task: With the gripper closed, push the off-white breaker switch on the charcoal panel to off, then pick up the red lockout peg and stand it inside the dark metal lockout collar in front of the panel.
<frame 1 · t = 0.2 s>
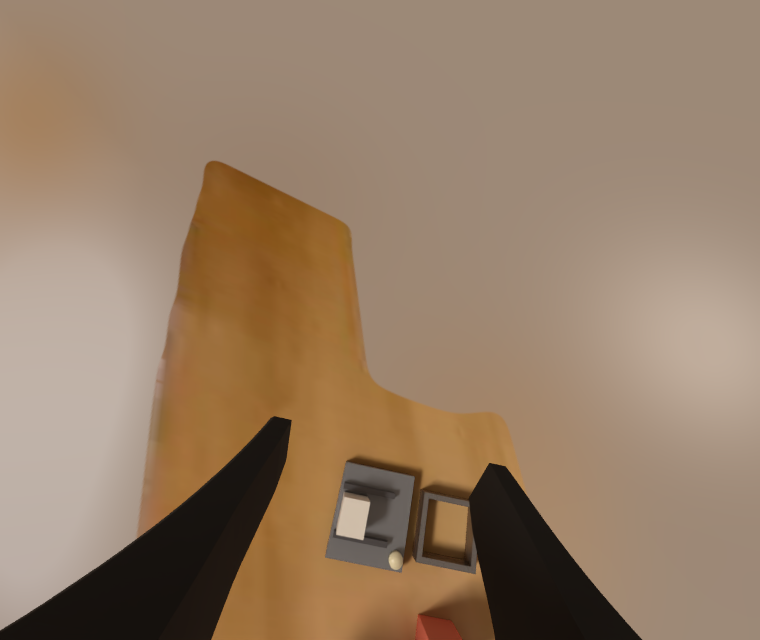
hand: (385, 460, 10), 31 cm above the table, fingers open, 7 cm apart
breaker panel: (371, 511, 37), on the table
breaker switch: (353, 514, 34), point 3 cm above the table, slide at 0.0 cm
lockout collar: (443, 526, 37), on the table
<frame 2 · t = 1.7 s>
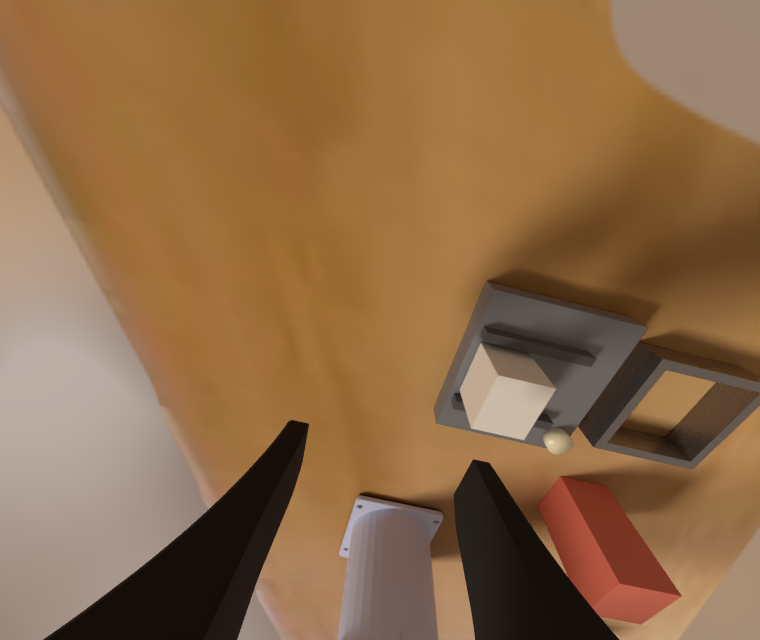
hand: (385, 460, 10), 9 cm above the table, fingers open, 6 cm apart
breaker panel: (521, 366, 19), on the table
breaker switch: (501, 389, 16), point 3 cm above the table, slide at 0.0 cm
lockout peg: (571, 496, 25), on the table
lockout collar: (653, 397, 20), on the table
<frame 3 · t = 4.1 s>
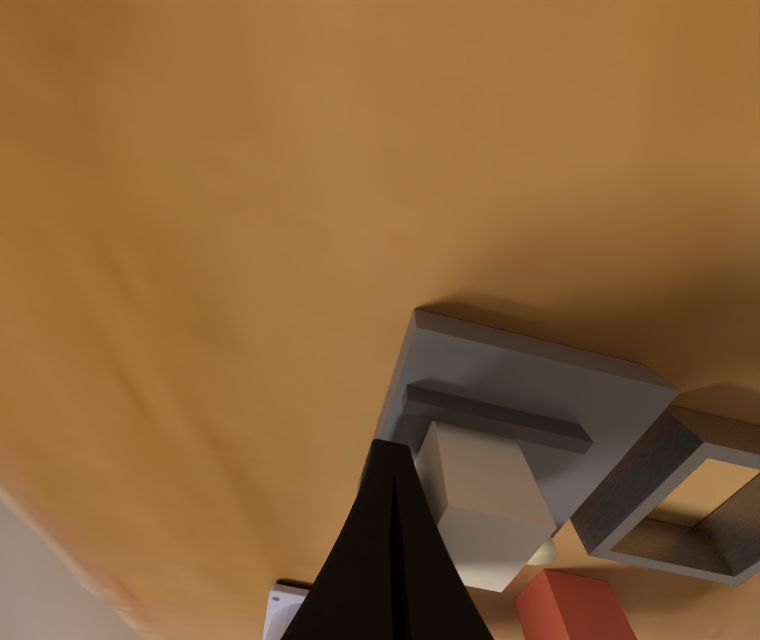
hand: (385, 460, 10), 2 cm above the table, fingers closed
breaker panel: (480, 433, 13), on the table
breaker switch: (465, 498, 10), point 3 cm above the table, slide at 1.1 cm, touching gripper
lockout peg: (558, 591, 18), on the table
lockout collar: (678, 478, 13), on the table
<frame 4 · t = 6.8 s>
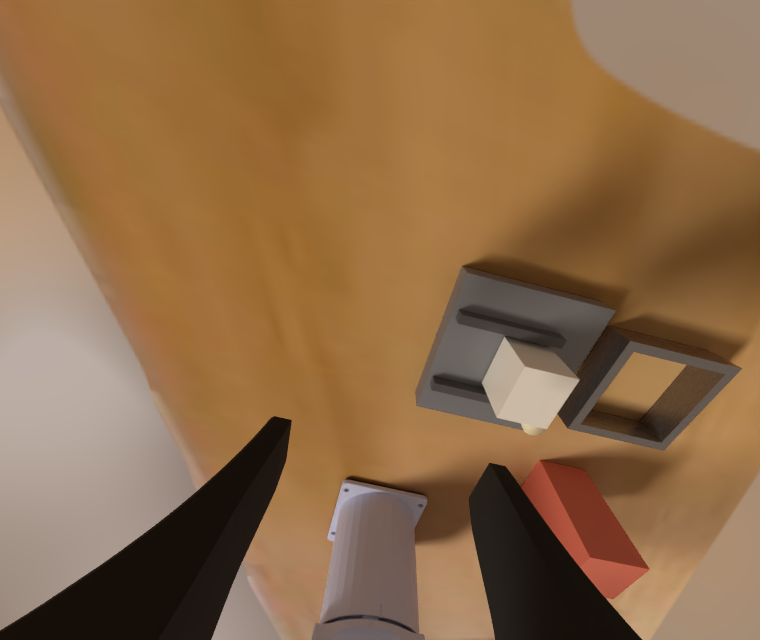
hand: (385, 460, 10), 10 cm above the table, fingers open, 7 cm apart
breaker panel: (498, 350, 20), on the table
breaker switch: (524, 381, 17), point 3 cm above the table, slide at 3.1 cm
lockout peg: (550, 480, 25), on the table
lockout collar: (626, 381, 20), on the table
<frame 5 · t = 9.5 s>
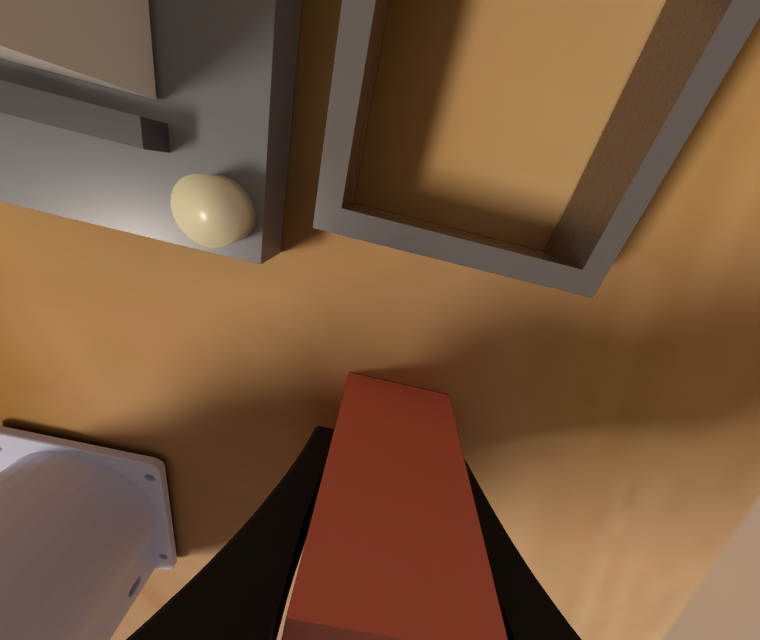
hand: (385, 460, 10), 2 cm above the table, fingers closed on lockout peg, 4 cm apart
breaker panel: (112, 4, 7), on the table
lockout peg: (387, 421, 12), on the table, touching gripper
lockout collar: (489, 109, 7), on the table
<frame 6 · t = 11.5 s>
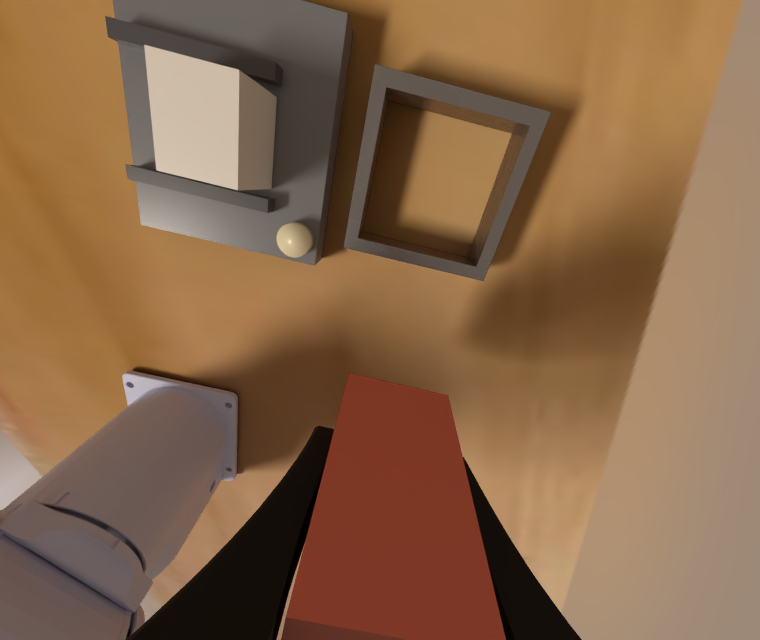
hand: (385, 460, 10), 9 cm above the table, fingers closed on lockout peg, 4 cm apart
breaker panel: (245, 139, 14), on the table
breaker switch: (220, 131, 11), point 3 cm above the table, slide at 3.1 cm
lockout peg: (386, 421, 12), point 7 cm above the table, touching gripper
lockout collar: (431, 186, 15), on the table
when the fingers open (3 cm above the table, at t = 13.7 s): lockout peg drops 1 cm, resting in lockout collar.
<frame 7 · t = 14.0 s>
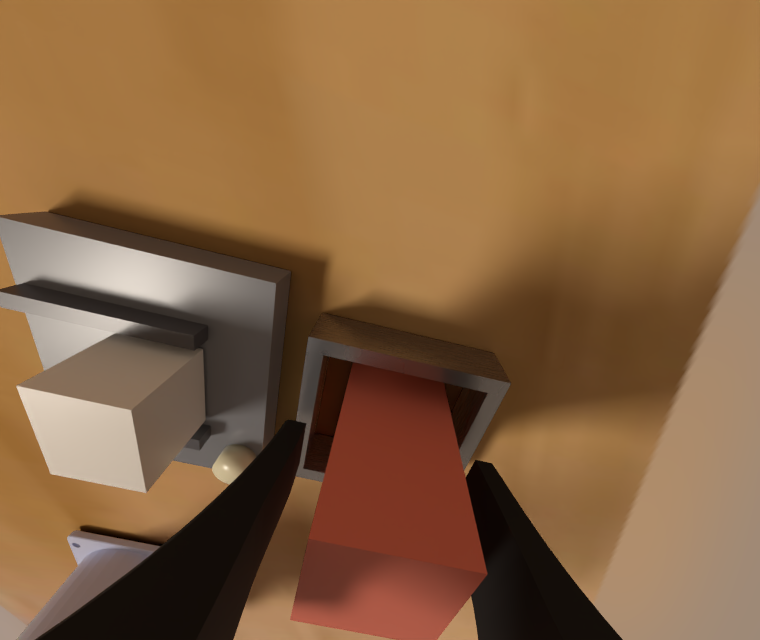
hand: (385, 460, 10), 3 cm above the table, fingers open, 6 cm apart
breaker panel: (179, 353, 13), on the table
breaker switch: (132, 406, 10), point 3 cm above the table, slide at 3.1 cm
lockout peg: (387, 403, 13), resting in lockout collar
lockout collar: (388, 400, 13), on the table
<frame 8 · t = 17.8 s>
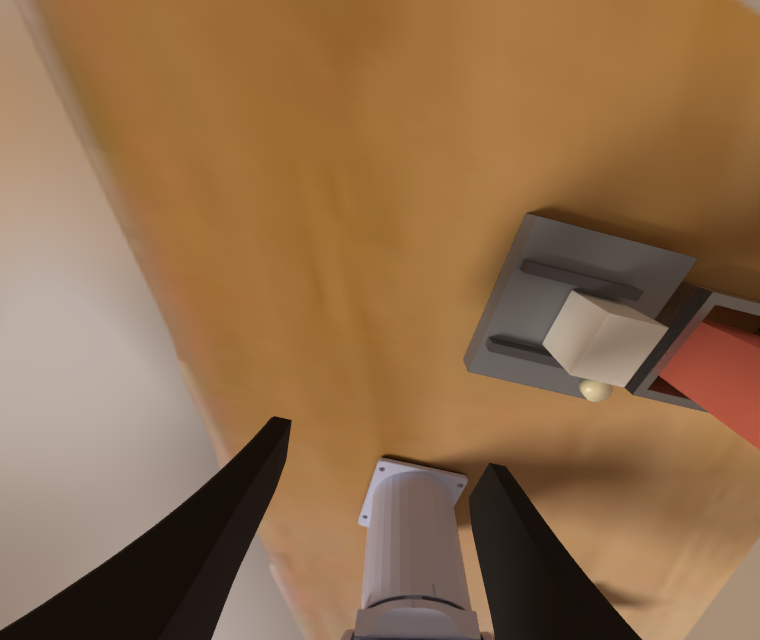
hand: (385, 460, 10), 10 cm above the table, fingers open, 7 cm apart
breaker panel: (557, 311, 19), on the table
breaker switch: (596, 337, 16), point 3 cm above the table, slide at 3.1 cm
lockout peg: (691, 347, 19), resting in lockout collar
lockout collar: (694, 344, 19), on the table
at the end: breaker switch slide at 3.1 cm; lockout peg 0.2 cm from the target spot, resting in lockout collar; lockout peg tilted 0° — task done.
